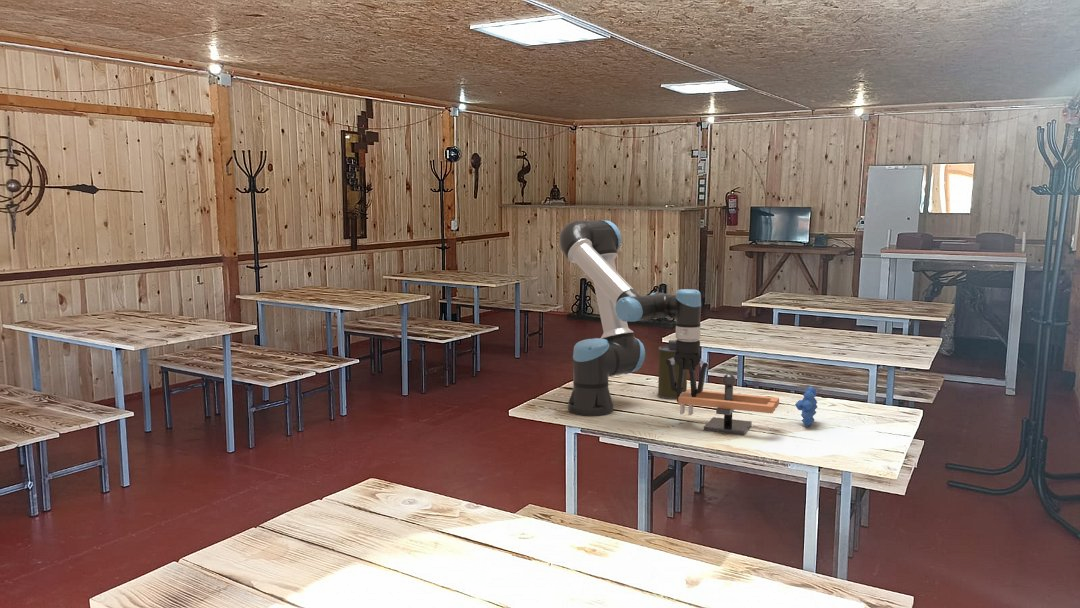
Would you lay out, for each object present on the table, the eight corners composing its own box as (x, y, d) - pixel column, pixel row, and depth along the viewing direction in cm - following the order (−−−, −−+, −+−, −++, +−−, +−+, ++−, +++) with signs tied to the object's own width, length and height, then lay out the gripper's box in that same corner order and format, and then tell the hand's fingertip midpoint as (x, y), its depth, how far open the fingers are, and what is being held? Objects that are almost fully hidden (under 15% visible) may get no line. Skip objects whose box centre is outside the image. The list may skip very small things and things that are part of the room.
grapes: (797, 418, 252) (799, 381, 251) (819, 421, 249) (821, 383, 247) (790, 427, 242) (792, 389, 240) (813, 430, 239) (815, 391, 237)
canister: (689, 399, 278) (690, 343, 275) (659, 399, 278) (660, 343, 275) (684, 392, 288) (685, 338, 286) (655, 392, 288) (656, 338, 286)
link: (678, 403, 242) (678, 397, 241) (688, 395, 252) (688, 389, 252) (772, 413, 230) (772, 406, 229) (779, 404, 240) (779, 397, 240)
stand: (702, 431, 238) (703, 377, 236) (714, 419, 251) (715, 367, 249) (742, 436, 233) (744, 380, 231) (752, 423, 246) (754, 371, 244)
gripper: (660, 339, 244) (659, 414, 247) (709, 343, 238) (707, 419, 240) (667, 336, 251) (666, 408, 254) (714, 339, 244) (713, 413, 247)
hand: (686, 413), depth 247 cm, fingers closed on link, 2 cm apart
